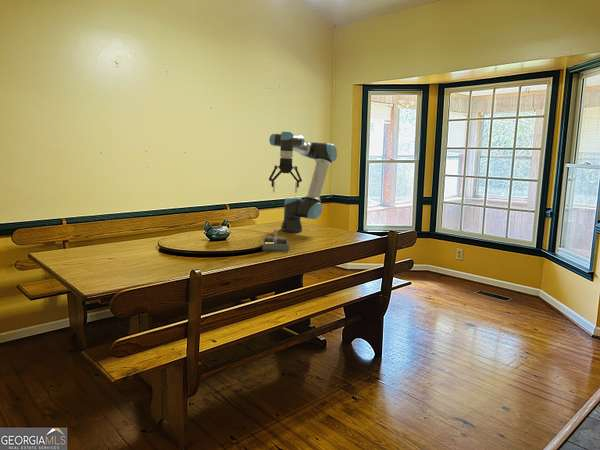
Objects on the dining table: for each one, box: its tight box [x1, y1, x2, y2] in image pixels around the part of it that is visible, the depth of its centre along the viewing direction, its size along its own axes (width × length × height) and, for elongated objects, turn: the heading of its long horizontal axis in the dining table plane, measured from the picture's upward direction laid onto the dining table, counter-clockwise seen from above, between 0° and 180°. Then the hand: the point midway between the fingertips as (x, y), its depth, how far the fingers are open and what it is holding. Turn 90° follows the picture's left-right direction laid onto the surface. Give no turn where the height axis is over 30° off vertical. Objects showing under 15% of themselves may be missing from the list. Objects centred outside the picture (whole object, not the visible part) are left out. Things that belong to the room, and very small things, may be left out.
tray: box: [262, 237, 290, 253], centre depth 263 cm, size 15×15×4 cm
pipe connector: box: [266, 229, 285, 244], centre depth 262 cm, size 10×10×10 cm
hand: (284, 192), depth 273 cm, fingers open, 13 cm apart
